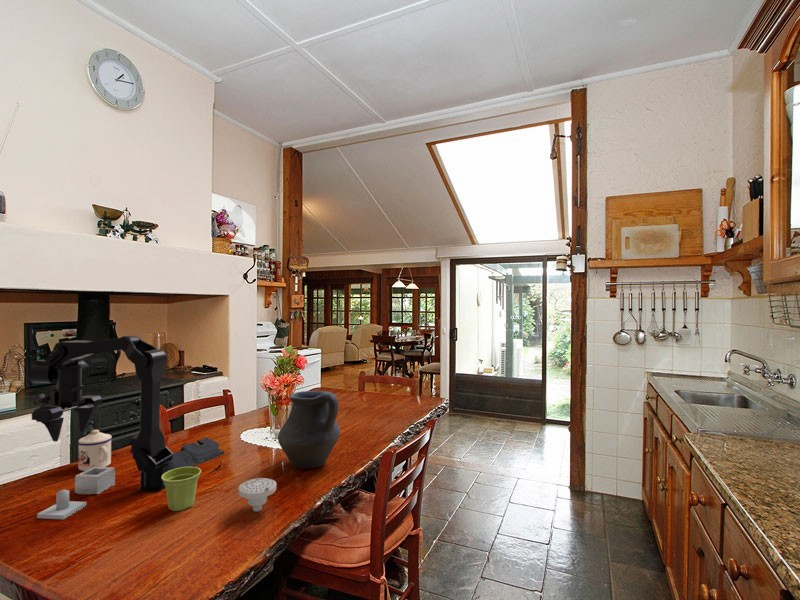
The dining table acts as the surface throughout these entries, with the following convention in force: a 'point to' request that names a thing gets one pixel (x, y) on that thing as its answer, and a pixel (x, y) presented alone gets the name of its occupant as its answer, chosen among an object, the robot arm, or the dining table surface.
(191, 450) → the dark slate chunk
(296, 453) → the pitcher
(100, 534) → the dining table surface
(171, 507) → the plant pot
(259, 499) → the showerhead
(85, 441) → the teacup with lid
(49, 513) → the shaft base
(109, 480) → the collar
